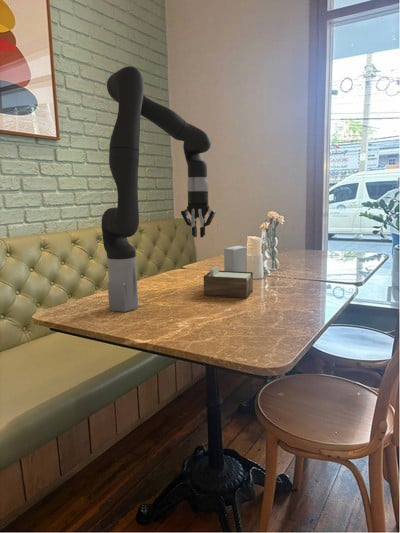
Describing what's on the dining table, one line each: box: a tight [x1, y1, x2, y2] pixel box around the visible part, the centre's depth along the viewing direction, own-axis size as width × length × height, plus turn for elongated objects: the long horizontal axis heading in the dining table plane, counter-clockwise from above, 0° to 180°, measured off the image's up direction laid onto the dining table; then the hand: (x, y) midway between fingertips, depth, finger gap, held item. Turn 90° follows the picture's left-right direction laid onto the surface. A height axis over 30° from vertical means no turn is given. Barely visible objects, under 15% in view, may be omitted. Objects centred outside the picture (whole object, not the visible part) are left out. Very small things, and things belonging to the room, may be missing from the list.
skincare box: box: [223, 245, 248, 272], centre depth 165 cm, size 8×6×15 cm
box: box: [203, 270, 254, 299], centre depth 147 cm, size 11×16×7 cm
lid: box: [208, 265, 251, 280], centre depth 146 cm, size 10×15×4 cm, turn 71°
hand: (198, 236), depth 147 cm, fingers closed
